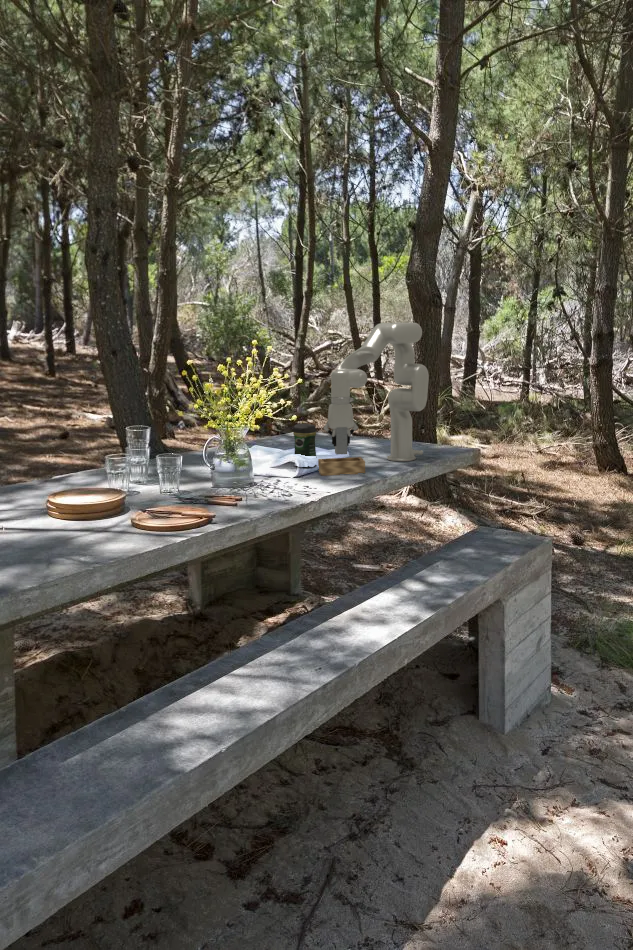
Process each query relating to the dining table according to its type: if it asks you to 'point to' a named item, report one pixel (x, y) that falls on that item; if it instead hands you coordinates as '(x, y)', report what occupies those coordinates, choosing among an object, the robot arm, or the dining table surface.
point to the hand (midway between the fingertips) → (340, 445)
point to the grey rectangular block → (341, 441)
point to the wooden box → (341, 466)
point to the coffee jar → (305, 439)
